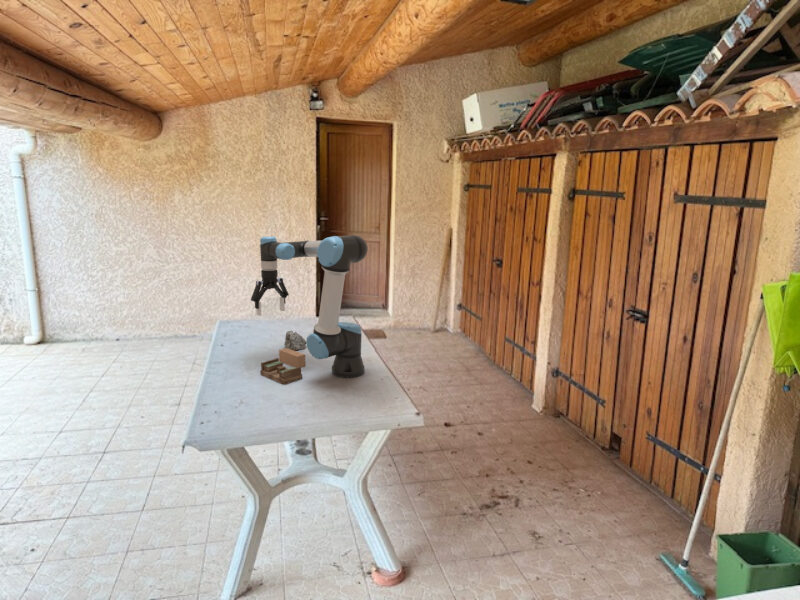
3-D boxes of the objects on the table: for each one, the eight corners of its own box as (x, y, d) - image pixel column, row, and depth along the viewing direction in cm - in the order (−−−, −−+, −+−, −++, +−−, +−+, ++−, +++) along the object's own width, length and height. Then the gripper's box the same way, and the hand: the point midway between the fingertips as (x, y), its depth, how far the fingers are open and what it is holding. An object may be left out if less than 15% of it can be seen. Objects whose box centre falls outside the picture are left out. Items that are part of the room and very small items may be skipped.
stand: (302, 378, 227) (302, 366, 226) (284, 384, 220) (283, 372, 218) (278, 369, 238) (278, 357, 236) (260, 374, 230) (260, 363, 229)
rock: (277, 349, 270) (278, 338, 263) (287, 337, 277) (289, 326, 269) (298, 361, 269) (300, 350, 261) (308, 349, 275) (310, 338, 268)
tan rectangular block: (305, 366, 243) (305, 354, 241) (297, 368, 239) (297, 356, 238) (286, 359, 251) (286, 347, 250) (279, 361, 248) (279, 349, 247)
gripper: (285, 266, 255) (286, 307, 260) (241, 271, 236) (243, 315, 241) (295, 267, 251) (296, 309, 255) (251, 273, 232) (253, 318, 236)
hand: (270, 312), depth 248 cm, fingers open, 13 cm apart
